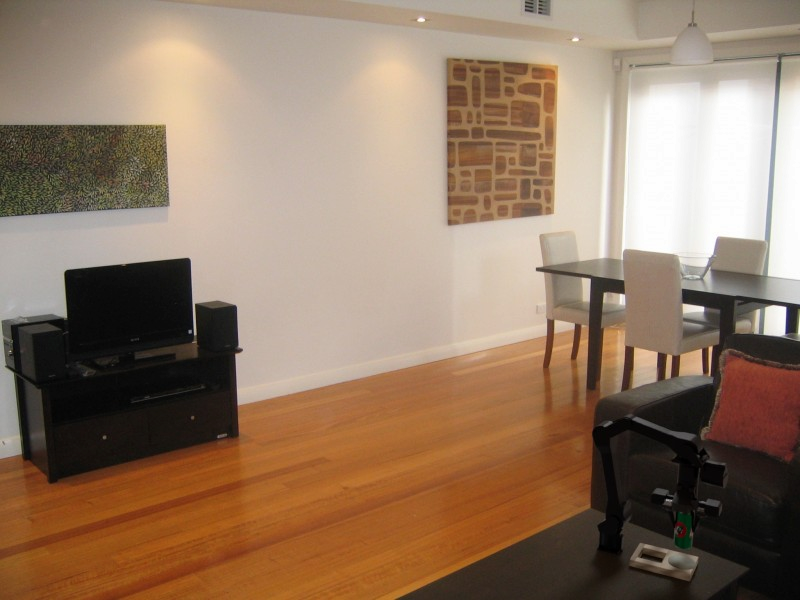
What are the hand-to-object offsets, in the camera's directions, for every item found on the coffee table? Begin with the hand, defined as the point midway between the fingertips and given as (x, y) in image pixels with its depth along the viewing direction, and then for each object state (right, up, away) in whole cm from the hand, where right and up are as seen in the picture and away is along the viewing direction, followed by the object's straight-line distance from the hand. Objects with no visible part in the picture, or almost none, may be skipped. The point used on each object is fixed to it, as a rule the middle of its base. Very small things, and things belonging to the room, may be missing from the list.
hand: (683, 529), depth 233 cm
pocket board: (-4, -12, +4) cm, 13 cm away
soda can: (0, -5, +1) cm, 5 cm away
